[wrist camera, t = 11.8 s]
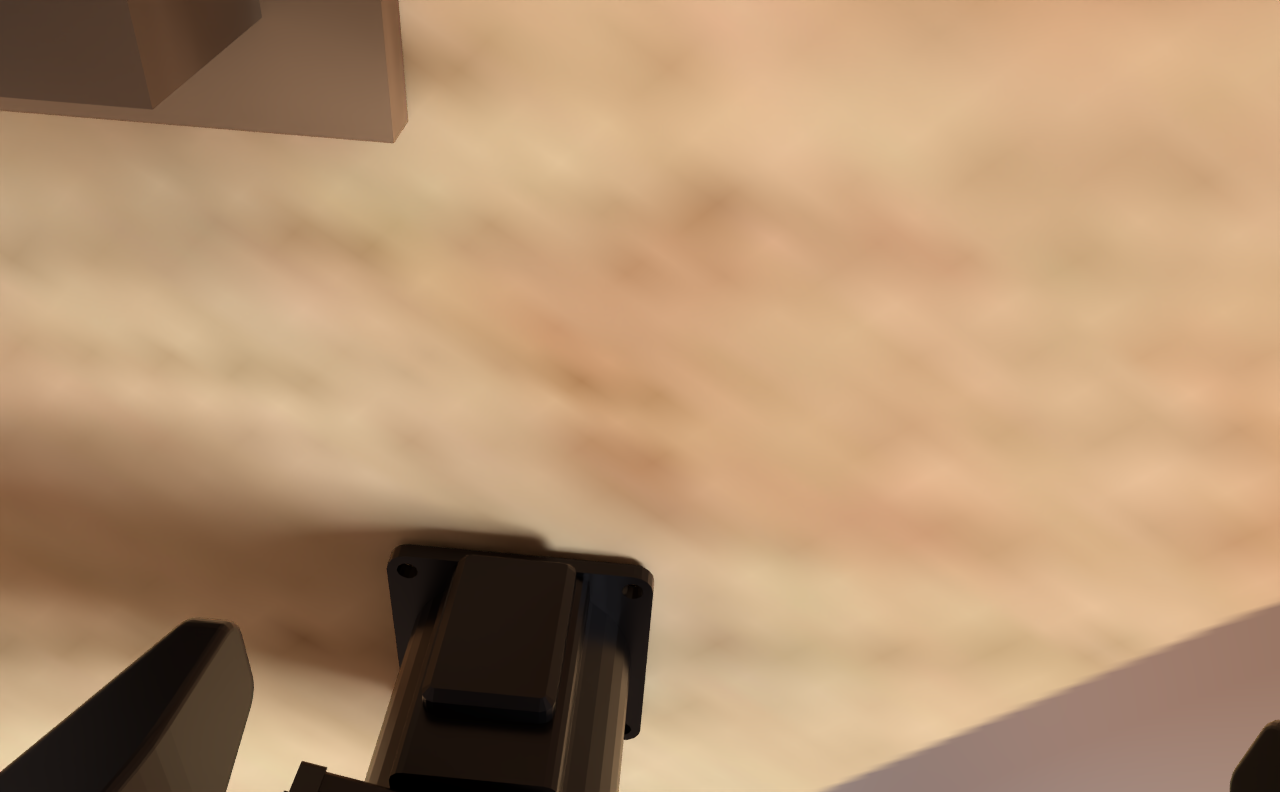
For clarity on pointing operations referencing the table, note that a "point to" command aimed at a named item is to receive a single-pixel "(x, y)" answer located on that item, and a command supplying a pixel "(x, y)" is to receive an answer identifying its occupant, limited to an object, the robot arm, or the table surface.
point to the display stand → (210, 64)
